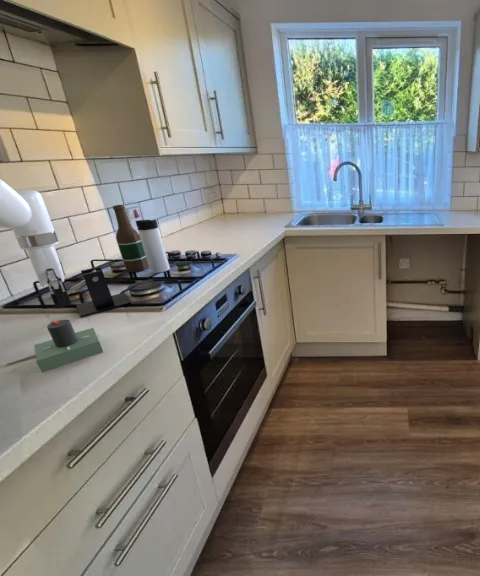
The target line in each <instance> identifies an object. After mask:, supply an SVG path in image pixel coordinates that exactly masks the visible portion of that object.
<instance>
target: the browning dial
mask: <svg viewBox="0 0 480 576" xmlns="http://www.w3.org/2000/svg"><path fill="white" fill-rule="evenodd" d="M46 328H47V330H48V333H49V335H50V337H51V340H53V341H54V344H55V346H56V347H65V346H69V345H71V344H74V343H75V342H76V341H77V340H78V339H77V336H76V334H75V333H76V332H75V330H74V327H73V325H72V321H71V320H70V319H60V320H52V321H50V323H49V324H48V325H47V326H46Z"/></svg>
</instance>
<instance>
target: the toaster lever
mask: <svg viewBox="0 0 480 576" xmlns="http://www.w3.org/2000/svg"><path fill="white" fill-rule="evenodd" d="M95 271H96V270H93V271H91V272H95ZM84 286H86V282H85V279H84V278H83V279H82V280H81V281H79V282H78V283H76V284H74V285H72V286H71V287H70V288H68V289H66V291H67V294H68V296H69V295H70V294H72V293H74V292H76V291H77V290H79V289H81V288H82V287H84Z"/></svg>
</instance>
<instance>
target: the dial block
mask: <svg viewBox="0 0 480 576" xmlns="http://www.w3.org/2000/svg"><path fill="white" fill-rule="evenodd" d="M75 334H76V336H77V339H78V340H77V341H76V342H75V343H74V344H71V345H69V346H65V347H56V346H55V344H54V341H53V339H49V340H47V341H43V342H39V343H35V344H34V352H35V353H34V354H35V360H36V363H37V365H38V367H39V370H40V371H41V373H44V372H47V371H50V370H53V369H56V368H59V367H62V366H66V365H68V364H71V363H73V362H77V361H80V360H83V359H86V358H90V357H92V356H94V355H98V354H102V353H104V350H103V347H102V345H101V342H100V339H99V337H98V335H97V332H96V331H95V328H94V327H91V328H87V329H84V330H80V331H77V332H75Z"/></svg>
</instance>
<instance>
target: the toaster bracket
mask: <svg viewBox="0 0 480 576" xmlns="http://www.w3.org/2000/svg"><path fill="white" fill-rule="evenodd" d="M93 270H96V271H95V272H91V271H93ZM80 272H81V275H82V278H83V280H84V279H85V282H86V284H85V286H86V288H87V290H88V294H89V296H90V299H91V300H89V301H86V302H82V303H77V304H76V305H75V306H76V308H77V311H78V313H79V316H80V318H81V319H82V318H86V317H89V316H92V315H96V314H97V315H98V314H100V313H103V312H108V311H112V310H114V309H118V308H122V307H125V306H129V305H132V301H131V300H130V298H129V297H128V295H127V294H126V293H125V292H121V293H116V294H113V295H112V293H111V290H110V288H109V285H108V283H107V279H106V277H105V274H104V271H103V270H102V269H101V267H100V266H97V267H96V266H95V267H91V268H86V269H82V270H80Z"/></svg>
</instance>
